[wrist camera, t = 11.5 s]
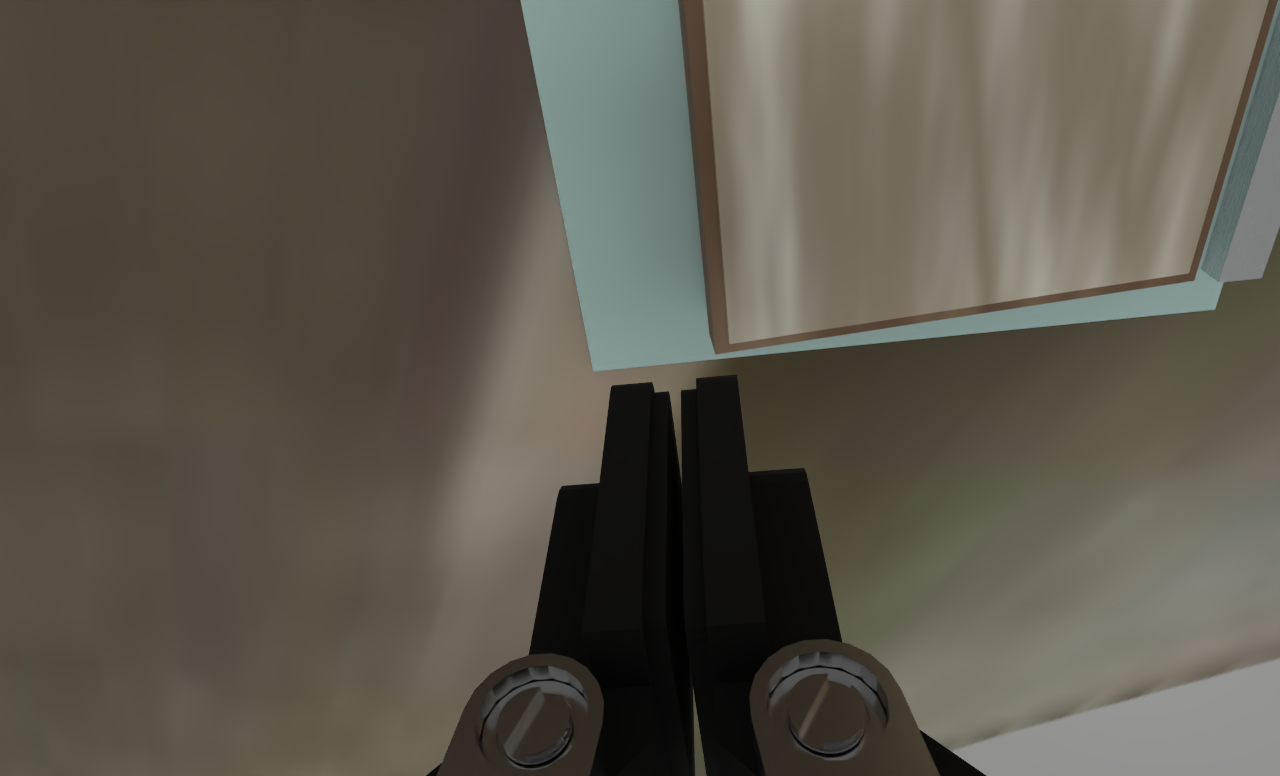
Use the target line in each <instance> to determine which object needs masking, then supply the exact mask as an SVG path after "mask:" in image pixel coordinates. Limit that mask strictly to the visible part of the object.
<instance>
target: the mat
mask: <svg viewBox="0 0 1280 776" xmlns="http://www.w3.org/2000/svg"><path fill="white" fill-rule="evenodd" d="M521 5H522V10H523V15H524V20H525V26H526V31H527V36H528V41H529V46H530V51H531V56H532V61H533V66H534V72H535V77H536V82H537V87H538V92H539V97H540V102H541V107H542V112H543V117H544V123H545V128H546V133H547V138H548V143H549V148H550V153H551V158H552V163H553V169H554V174H555V179H556V184H557V189H558V194H559V199H560V204H561V209H562V214H563V220H564V225H565V230H566V235H567V240H568V245H569V250H570V255H571V260H572V266H573V271H574V276H575V281H576V286H577V291H578V296H579V301H580V306H581V311H582V317H583V322H584V327H585V332H586V337H587V342H588V347H589V352H590V357H591V363H592V368H593V372H594V371H604V370H614V369H624V368H634V367H644V366H654V365H664V364H674V363H684V362H694V361H704V360H714V359H724V358H734V357H744V356H754V355H764V354H774V353H784V352H794V351H804V350H814V349H824V348H834V347H844V346H854V345H864V344H874V343H884V342H894V341H904V340H914V339H924V338H934V337H944V336H954V335H964V334H974V333H984V332H994V331H1004V330H1014V329H1024V328H1034V327H1044V326H1054V325H1064V324H1074V323H1085V322H1095V321H1105V320H1115V319H1125V318H1135V317H1145V316H1155V315H1165V314H1175V313H1185V312H1195V311H1205V310H1215V308H1216V305H1217V302H1218V299H1219V296H1220V292H1221V289H1222V286H1223V283H1224V282H1220V283H1219V282H1217V281H1216V280H1215V279H1213V278H1212V277H1211V276H1209V275H1208V274H1207V273H1205V272H1204V271H1203V270H1201V269H1202V265H1203V262H1204V259H1205V255H1206V252H1207V249H1208V245H1209V242H1210V239H1211V236H1212V232H1213V229H1214V226H1215V222H1216V219H1217V216H1218V212H1219V209H1220V206H1221V202H1222V199H1223V196H1224V192H1225V189H1226V186H1227V182H1228V179H1229V176H1230V172H1231V169H1232V166H1233V163H1234V159H1235V156H1236V153H1237V149H1238V146H1239V143H1240V139H1241V136H1242V133H1243V129H1244V126H1245V123H1246V119H1247V116H1248V113H1249V109H1250V106H1251V103H1252V99H1253V96H1254V93H1255V89H1256V86H1257V83H1258V80H1259V76H1260V73H1261V70H1262V66H1263V63H1264V60H1265V56H1266V53H1267V50H1268V46H1269V43H1270V40H1271V36H1272V33H1273V30H1274V26H1275V23H1276V20H1277V16H1278V13H1279V10H1280V0H1278V2H1277V5H1276V9H1275V12H1274V15H1273V19H1272V22H1271V26H1270V29H1269V32H1268V36H1267V39H1266V42H1265V46H1264V49H1263V52H1262V56H1261V59H1260V62H1259V66H1258V69H1257V72H1256V76H1255V79H1254V83H1253V86H1252V89H1251V93H1250V96H1249V99H1248V103H1247V106H1246V109H1245V113H1244V116H1243V119H1242V123H1241V126H1240V129H1239V133H1238V136H1237V139H1236V143H1235V146H1234V150H1233V153H1232V156H1231V160H1230V163H1229V166H1228V170H1227V173H1226V176H1225V180H1224V183H1223V186H1222V190H1221V193H1220V196H1219V200H1218V203H1217V206H1216V210H1215V213H1214V217H1213V220H1212V223H1211V227H1210V230H1209V233H1208V237H1207V240H1206V243H1205V247H1204V250H1203V253H1202V257H1201V260H1200V263H1199V267H1198V270H1197V273H1196V277H1195V280H1194V281H1189V282H1183V283H1177V284H1170V285H1164V286H1157V287H1151V288H1144V289H1138V290H1131V291H1125V292H1118V293H1112V294H1105V295H1099V296H1092V297H1086V298H1079V299H1073V300H1066V301H1060V302H1053V303H1047V304H1040V305H1034V306H1027V307H1021V308H1014V309H1008V310H1001V311H995V312H989V313H982V314H976V315H969V316H963V317H956V318H950V319H943V320H937V321H930V322H924V323H917V324H911V325H904V326H898V327H891V328H885V329H878V330H872V331H865V332H859V333H852V334H846V335H839V336H833V337H826V338H820V339H814V340H807V341H801V342H794V343H788V344H781V345H775V346H768V347H762V348H755V349H749V350H742V351H736V352H729V353H723V354H715V351H714V348H713V345H712V342H711V338H710V335H709V327H708V316H707V305H706V294H705V284H704V273H703V262H702V252H701V241H700V230H699V219H698V209H697V198H696V187H695V176H694V166H693V155H692V144H691V133H690V123H689V112H688V101H687V90H686V80H685V69H684V58H683V47H682V37H681V26H680V15H679V4H678V0H521Z"/></svg>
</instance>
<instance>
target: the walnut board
mask: <svg viewBox="0 0 1280 776" xmlns="http://www.w3.org/2000/svg"><path fill="white" fill-rule="evenodd" d="M1277 2H1278V0H678V4H679V15H680V26H681V37H682V47H683V58H684V69H685V80H686V90H687V101H688V112H689V123H690V133H691V144H692V155H693V166H694V176H695V187H696V198H697V209H698V219H699V230H700V241H701V252H702V262H703V273H704V284H705V294H706V305H707V316H708V327H709V335H710V338H711V342H712V345H713V348H714V351H715V354H723V353H729V352H736V351H742V350H749V349H755V348H762V347H768V346H775V345H781V344H788V343H794V342H801V341H807V340H814V339H820V338H826V337H833V336H839V335H846V334H852V333H859V332H865V331H872V330H878V329H885V328H891V327H898V326H904V325H911V324H917V323H924V322H930V321H937V320H943V319H950V318H956V317H963V316H969V315H976V314H982V313H989V312H995V311H1001V310H1008V309H1014V308H1021V307H1027V306H1034V305H1040V304H1047V303H1053V302H1060V301H1066V300H1073V299H1079V298H1086V297H1092V296H1099V295H1105V294H1112V293H1118V292H1125V291H1131V290H1138V289H1144V288H1151V287H1157V286H1164V285H1170V284H1177V283H1183V282H1189V281H1194V280H1195V277H1196V273H1197V270H1198V267H1199V263H1200V260H1201V257H1202V253H1203V250H1204V247H1205V243H1206V240H1207V237H1208V233H1209V230H1210V227H1211V223H1212V220H1213V217H1214V213H1215V210H1216V206H1217V203H1218V200H1219V196H1220V193H1221V190H1222V186H1223V183H1224V180H1225V176H1226V173H1227V170H1228V166H1229V163H1230V160H1231V156H1232V153H1233V150H1234V146H1235V143H1236V139H1237V136H1238V133H1239V129H1240V126H1241V123H1242V119H1243V116H1244V113H1245V109H1246V106H1247V103H1248V99H1249V96H1250V93H1251V89H1252V86H1253V83H1254V79H1255V76H1256V72H1257V69H1258V66H1259V62H1260V59H1261V56H1262V52H1263V49H1264V46H1265V42H1266V39H1267V36H1268V32H1269V29H1270V26H1271V22H1272V19H1273V15H1274V12H1275V9H1276V5H1277Z"/></svg>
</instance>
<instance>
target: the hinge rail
mask: <svg viewBox="0 0 1280 776" xmlns="http://www.w3.org/2000/svg"><path fill="white" fill-rule="evenodd" d="M1279 227H1280V10H1279V13H1278V16H1277V20H1276V23H1275V26H1274V30H1273V33H1272V36H1271V40H1270V43H1269V46H1268V50H1267V53H1266V56H1265V60H1264V63H1263V66H1262V70H1261V73H1260V76H1259V80H1258V83H1257V86H1256V89H1255V93H1254V96H1253V99H1252V103H1251V106H1250V109H1249V113H1248V116H1247V119H1246V123H1245V126H1244V129H1243V133H1242V136H1241V139H1240V143H1239V146H1238V149H1237V153H1236V156H1235V159H1234V163H1233V166H1232V169H1231V172H1230V176H1229V179H1228V182H1227V186H1226V189H1225V192H1224V196H1223V199H1222V202H1221V206H1220V209H1219V212H1218V216H1217V219H1216V222H1215V226H1214V229H1213V232H1212V236H1211V239H1210V242H1209V245H1208V249H1207V252H1206V255H1205V259H1204V262H1203V265H1202V269H1201V270H1203V271H1204V272H1205V273H1207V274H1208V275H1209V276H1211V277H1212V278H1213V279H1215V280H1216V281H1217V282H1219V283H1220V282H1230V281H1240V280H1249V279H1259V278H1262V276H1263V273H1264V270H1265V267H1266V264H1267V261H1268V258H1269V256H1270V253H1271V250H1272V247H1273V244H1274V241H1275V239H1276V236H1277V233H1278V230H1279Z"/></svg>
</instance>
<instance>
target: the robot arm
mask: <svg viewBox="0 0 1280 776" xmlns="http://www.w3.org/2000/svg"><path fill="white" fill-rule="evenodd" d="M696 387H697V389H692V390H681V427H682V483H681V476H680V468H679V461H678V453H677V446H676V438H675V431H674V423H673V416H672V408H671V401H670V395H669V392H657V393H655V392H654V387H653V383H652V382H649V383H637V384H626V385H614V386H612V387H611V391H610V399H609V408H608V416H607V425H606V433H605V441H604V450H603V458H602V467H601V475H600V483H596V484H583V485H569V486H562V487H561V489H560V490H559V494H558V497H557V502H556V508H555V513H554V519H553V524H552V530H551V535H550V541H549V546H548V552H547V557H546V563H545V568H544V574H543V580H542V585H541V591H540V596H539V602H538V607H537V613H536V618H535V624H534V629H533V635H532V640H531V646H530V651H529V655H528V656H525V657H522V658H518V659H515V660H512V661H510V662H508V663H506V664H505V665H503V666H502V667H500V668H498V669H497V670H495V671H493V672H492V673H490V674H489V675H488V676H487V677H486V678H485V680H484V681H483V682H482V683H481V684H480V685H479V686H478V687H477V688H476V689H475V690H474V692H473V693H472V695H471V697H470V699H469V700H468V702H467V704H466V706H465V707H464V709H463V712H462V714H461V717H460V719H459V722H458V724H457V727H456V729H455V731H454V734H453V736H452V739H451V741H450V744H449V746H448V749H447V751H446V754H445V756H444V759H443V761H442V763H441V764H440V765H438V766H437V767H436V768H435V769H434V770H432V771H431V772H430V773H429V774H428V775H426V776H695V758H694V712H693V688H694V695H695V701H696V708H697V715H698V721H699V728H700V734H701V741H702V748H703V754H704V761H705V767H706V774H707V776H986V775H984V774H983V773H981V772H980V771H979V770H977V769H976V768H974V767H973V766H971V765H970V764H968V763H967V762H966V761H964V760H962V759H961V758H959V757H958V756H957V755H955V754H954V753H953V752H951V751H950V750H948V749H947V748H945V747H944V746H942V745H941V744H940V743H938V742H937V741H935V740H934V739H932V738H931V737H929V736H928V735H927V734H925V733H924V732H922V731H921V730H919V728H918V726H917V724H916V721H915V719H914V717H913V715H912V712H911V710H910V708H909V706H908V703H907V701H906V699H905V697H904V694H903V692H902V690H901V688H900V687H899V685H898V684H897V682H896V681H895V679H894V677H893V676H892V674H891V673H890V671H889V670H888V669H887V668H886V667H885V666H884V665H882V664H881V663H880V662H879V661H878V660H877V659H876V658H874V657H873V656H872V655H871V654H869V653H867V652H865V651H863V650H861V649H859V648H857V647H855V646H853V645H851V644H847V643H842V639H841V634H840V629H839V625H838V620H837V615H836V610H835V606H834V601H833V596H832V592H831V587H830V582H829V577H828V573H827V568H826V563H825V558H824V554H823V549H822V544H821V539H820V535H819V530H818V525H817V521H816V516H815V511H814V506H813V502H812V497H811V492H810V487H809V483H808V478H807V474H806V471H805V469H804V468H798V469H784V470H771V471H758V472H748V465H747V457H746V448H745V440H744V431H743V423H742V414H741V406H740V397H739V389H738V381H737V375H729V376H717V377H706V378H696Z"/></svg>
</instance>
